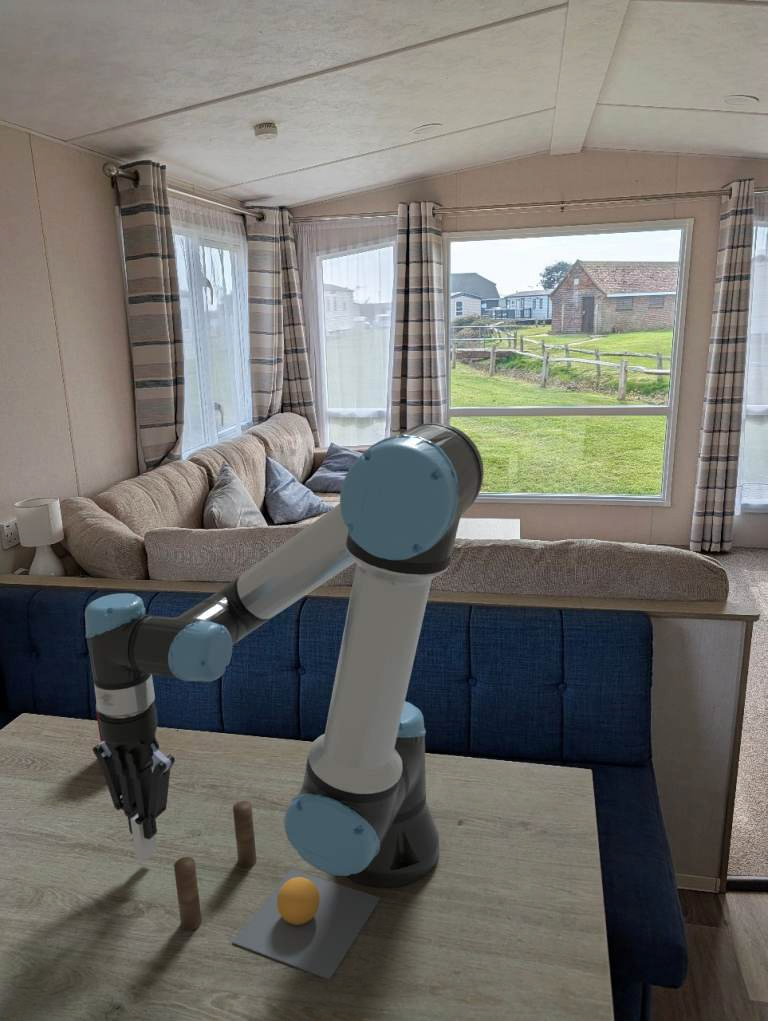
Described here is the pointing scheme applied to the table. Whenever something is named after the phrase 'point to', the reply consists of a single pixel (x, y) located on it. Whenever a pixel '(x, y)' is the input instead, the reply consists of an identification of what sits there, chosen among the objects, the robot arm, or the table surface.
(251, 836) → the post
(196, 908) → the front post
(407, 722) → the robot arm
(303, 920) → the ball
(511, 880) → the table surface
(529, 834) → the table surface
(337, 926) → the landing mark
